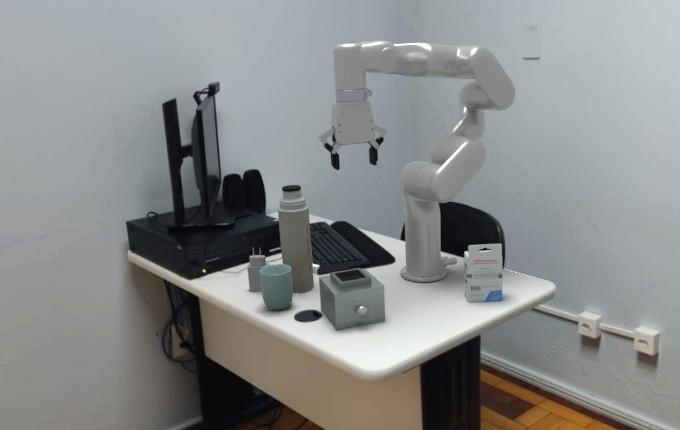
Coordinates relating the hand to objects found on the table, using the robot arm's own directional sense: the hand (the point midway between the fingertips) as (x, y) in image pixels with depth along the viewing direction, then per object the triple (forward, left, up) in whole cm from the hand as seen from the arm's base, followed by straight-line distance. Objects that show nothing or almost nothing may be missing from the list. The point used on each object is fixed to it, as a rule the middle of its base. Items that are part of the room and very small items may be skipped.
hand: (355, 166), depth 153 cm
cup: (+22, 0, -33) cm, 40 cm away
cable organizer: (+10, -22, -34) cm, 41 cm away
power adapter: (+24, -13, -33) cm, 43 cm away
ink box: (-26, +17, -33) cm, 46 cm away
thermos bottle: (+14, -10, -33) cm, 38 cm away
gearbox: (+7, +13, -33) cm, 36 cm away
